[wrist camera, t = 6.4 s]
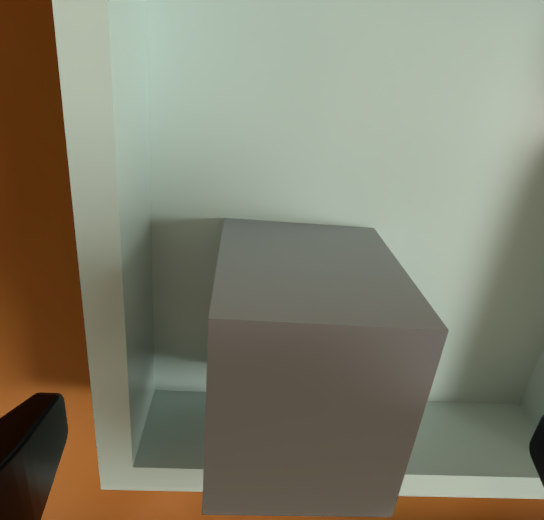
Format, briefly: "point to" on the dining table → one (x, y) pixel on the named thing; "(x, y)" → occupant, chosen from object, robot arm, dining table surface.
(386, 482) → the tall grey box
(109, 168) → the dish
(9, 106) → the dining table surface
